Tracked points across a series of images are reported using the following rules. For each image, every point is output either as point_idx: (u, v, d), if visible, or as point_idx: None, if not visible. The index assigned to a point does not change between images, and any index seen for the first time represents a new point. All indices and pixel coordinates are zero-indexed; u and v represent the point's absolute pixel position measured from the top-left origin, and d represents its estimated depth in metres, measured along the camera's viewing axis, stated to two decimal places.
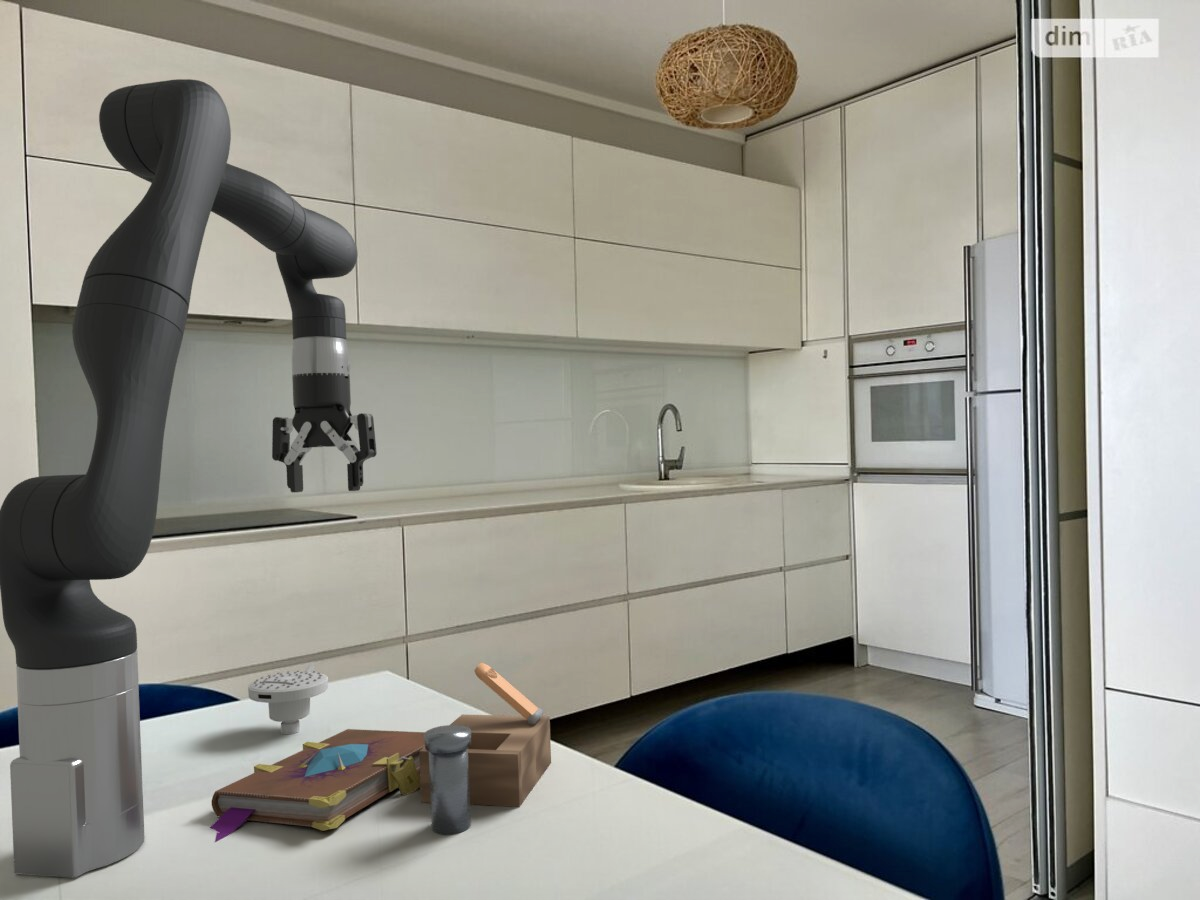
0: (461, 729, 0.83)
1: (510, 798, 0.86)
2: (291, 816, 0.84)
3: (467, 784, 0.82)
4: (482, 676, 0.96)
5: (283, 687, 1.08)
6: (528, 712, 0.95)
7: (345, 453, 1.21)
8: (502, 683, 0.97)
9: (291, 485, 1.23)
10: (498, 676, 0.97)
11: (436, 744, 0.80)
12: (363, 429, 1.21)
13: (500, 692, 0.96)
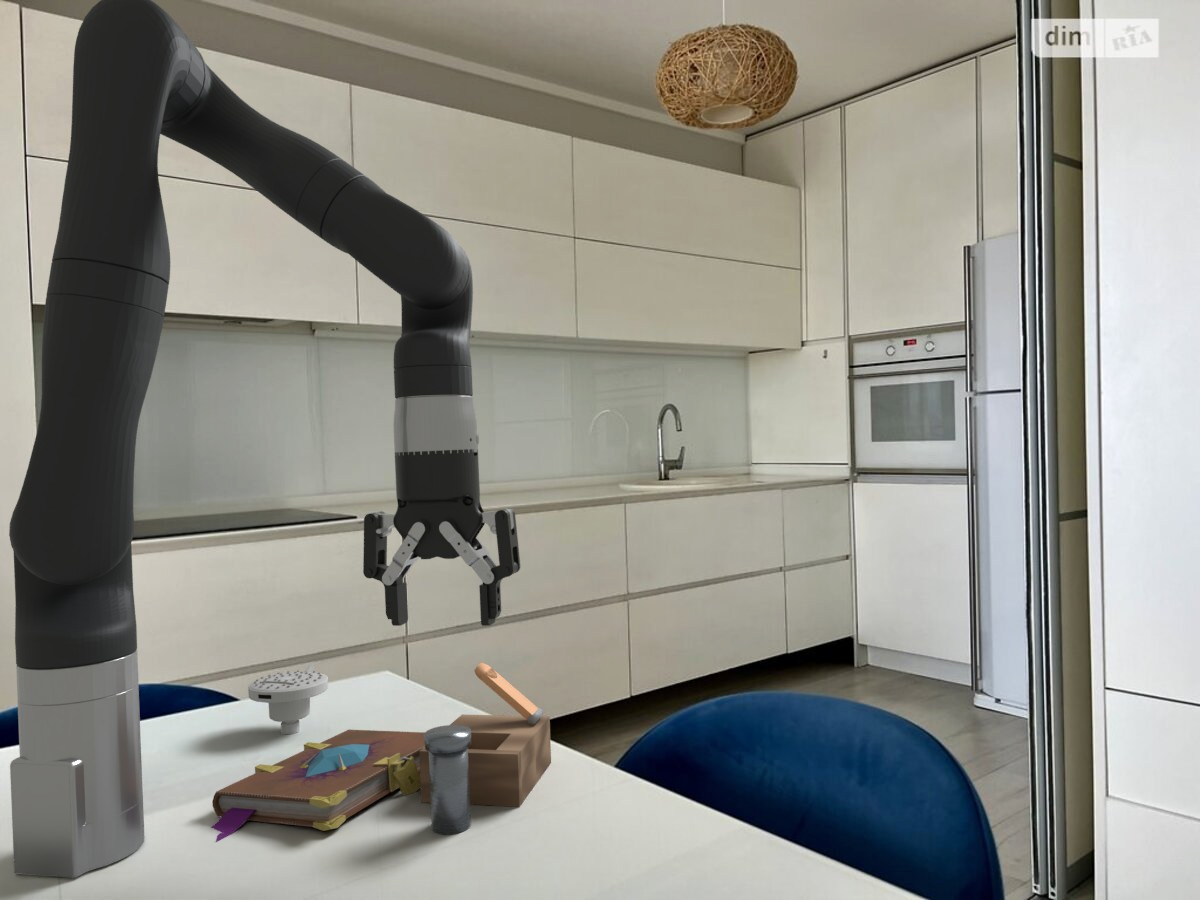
0: (461, 729, 0.83)
1: (510, 798, 0.86)
2: (292, 816, 0.84)
3: (467, 784, 0.82)
4: (482, 676, 0.96)
5: (283, 687, 1.08)
6: (528, 712, 0.95)
7: (476, 569, 0.81)
8: (502, 683, 0.97)
9: (393, 615, 0.82)
10: (498, 676, 0.97)
11: (436, 744, 0.80)
12: (504, 534, 0.80)
13: (500, 692, 0.96)
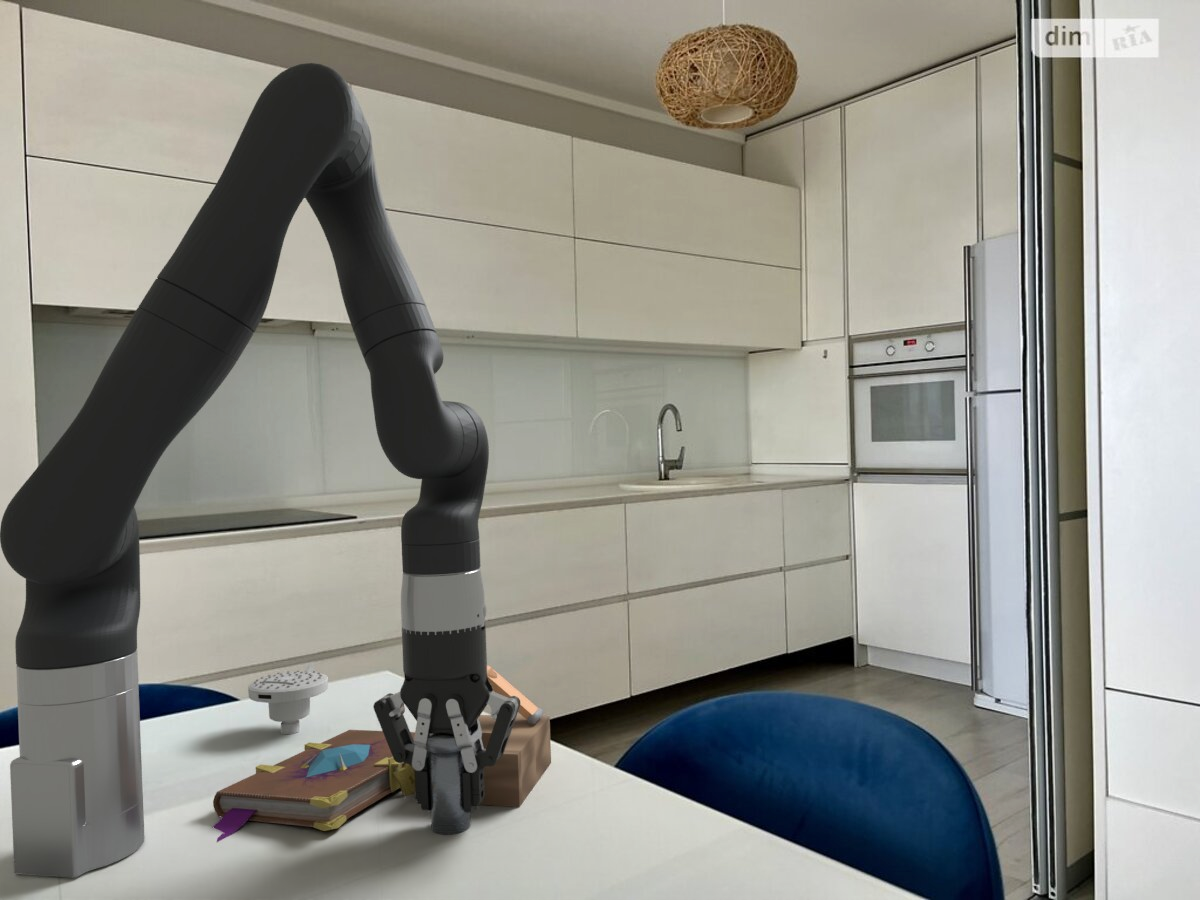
0: None
1: (510, 798, 0.86)
2: (293, 816, 0.84)
3: None
4: None
5: (283, 687, 1.08)
6: (528, 712, 0.95)
7: (463, 754, 0.81)
8: (502, 683, 0.97)
9: (422, 801, 0.81)
10: (498, 676, 0.97)
11: (436, 744, 0.80)
12: (501, 727, 0.80)
13: (500, 692, 0.96)
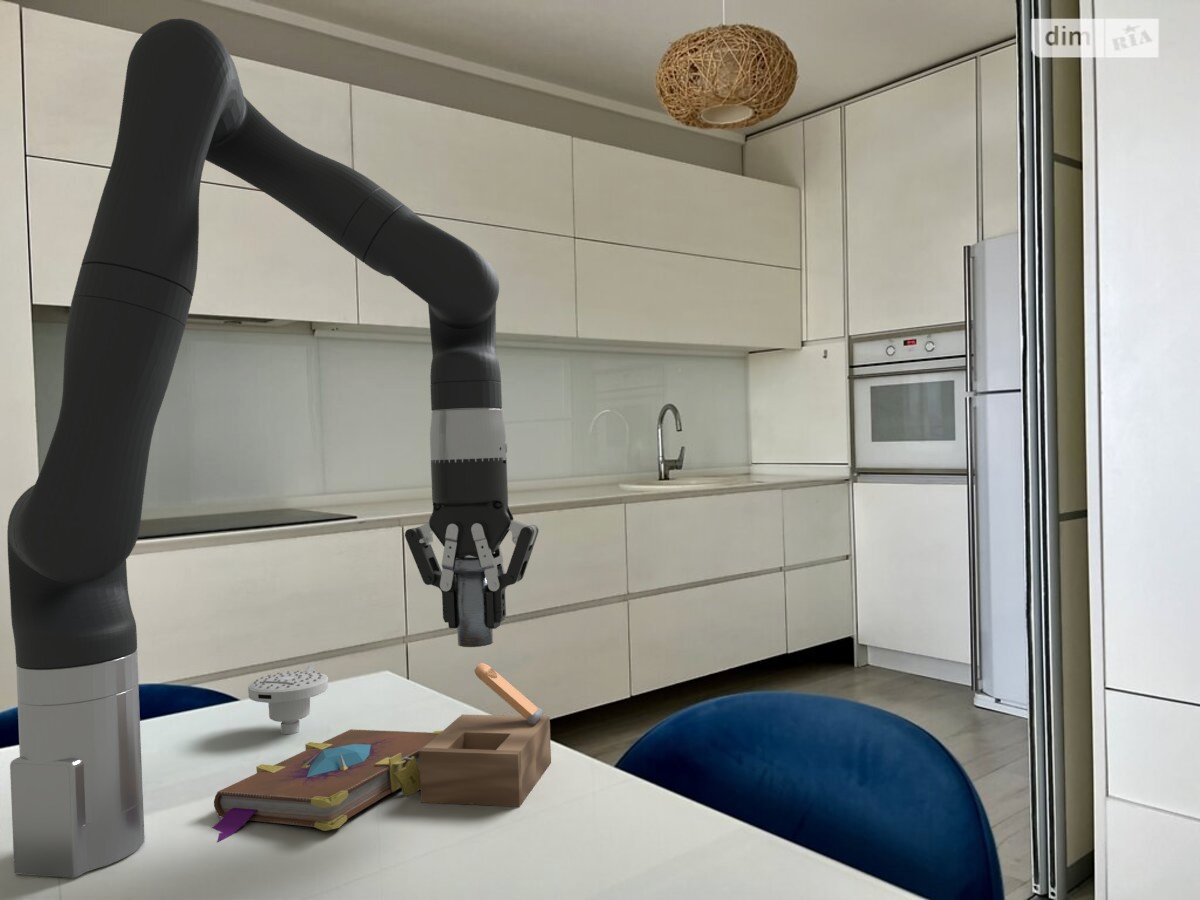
0: None
1: (510, 798, 0.86)
2: (293, 816, 0.84)
3: None
4: (482, 676, 0.96)
5: (283, 687, 1.08)
6: (528, 712, 0.95)
7: (487, 574, 0.89)
8: (502, 683, 0.97)
9: (449, 619, 0.90)
10: (498, 676, 0.97)
11: (462, 564, 0.88)
12: (522, 548, 0.88)
13: (500, 692, 0.96)
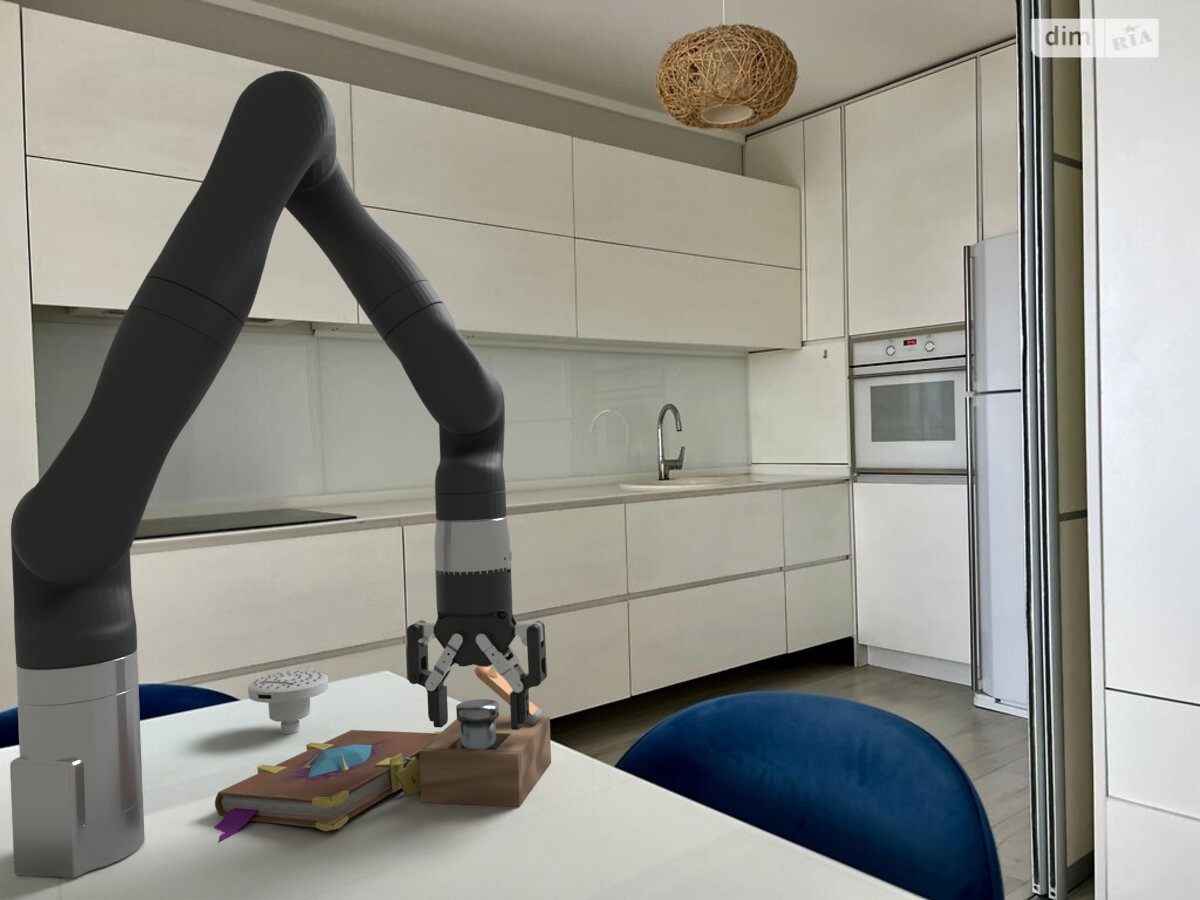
0: (489, 702, 0.91)
1: (510, 798, 0.86)
2: (294, 817, 0.83)
3: None
4: (482, 676, 0.96)
5: (283, 687, 1.08)
6: None
7: (508, 679, 0.89)
8: (502, 683, 0.97)
9: (435, 718, 0.90)
10: (498, 676, 0.97)
11: (468, 715, 0.88)
12: (534, 647, 0.88)
13: (500, 692, 0.96)
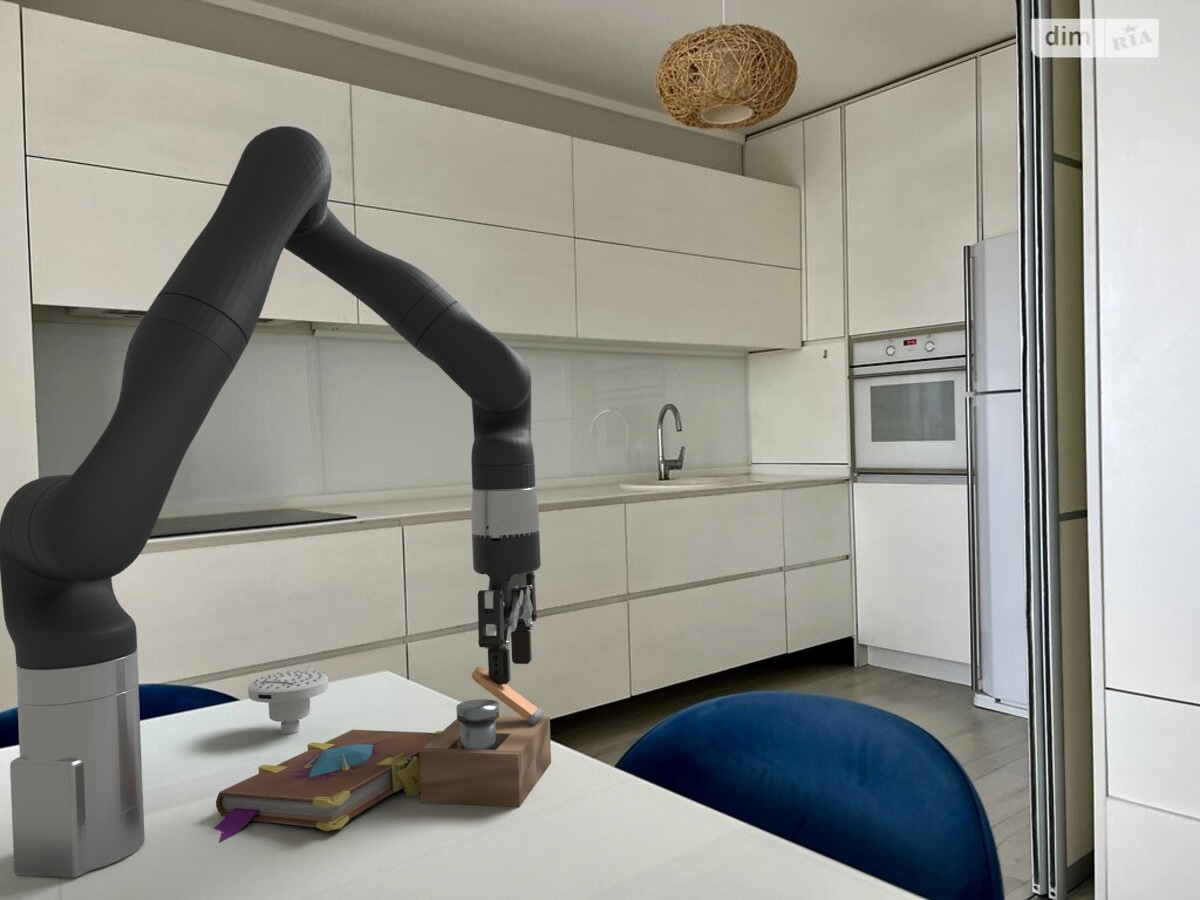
0: (489, 702, 0.91)
1: (510, 798, 0.86)
2: (295, 816, 0.83)
3: None
4: (479, 680, 0.96)
5: (283, 687, 1.08)
6: (528, 712, 0.95)
7: None
8: (500, 685, 0.97)
9: None
10: None
11: (468, 715, 0.88)
12: None
13: (498, 694, 0.96)
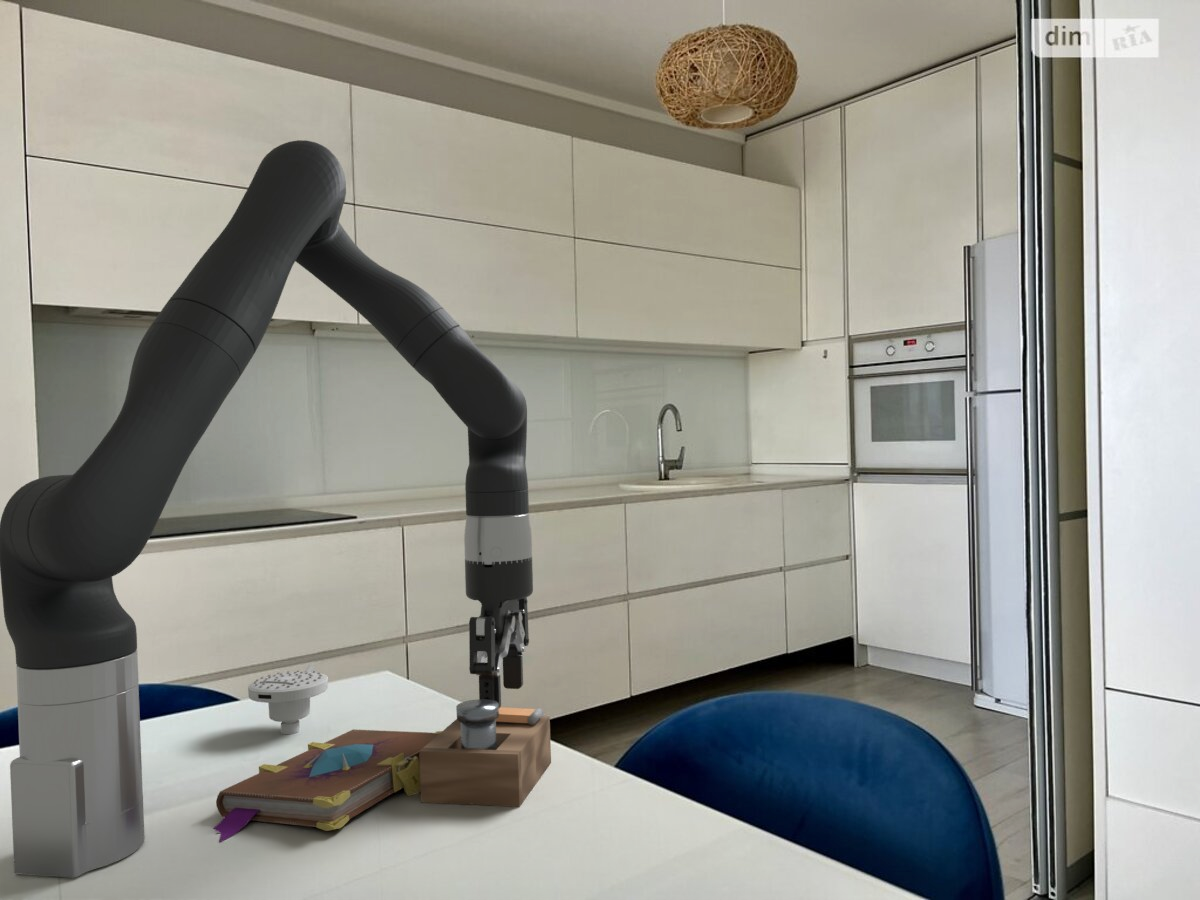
0: (489, 703, 0.91)
1: (510, 798, 0.86)
2: (295, 816, 0.83)
3: None
4: None
5: (283, 687, 1.08)
6: (525, 716, 0.95)
7: None
8: None
9: None
10: None
11: (468, 715, 0.88)
12: None
13: None
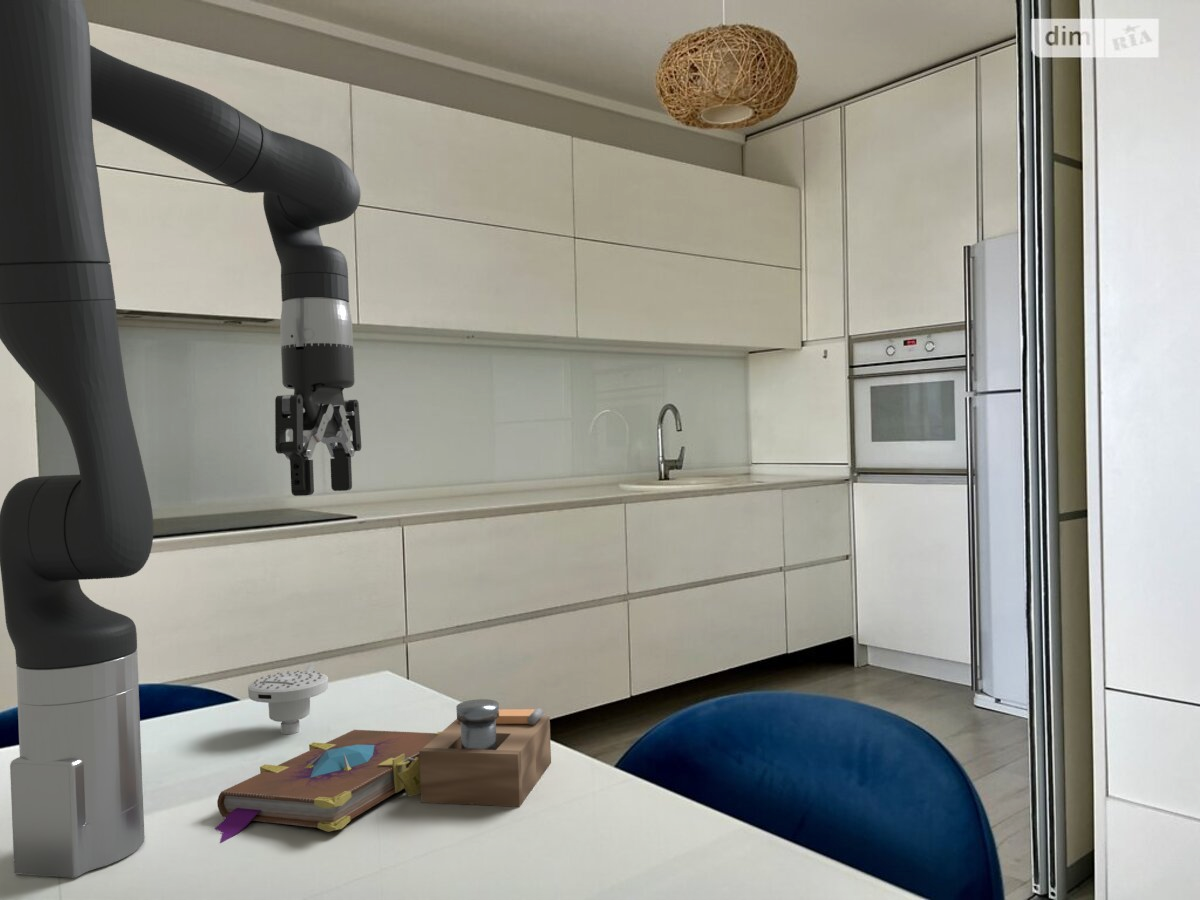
0: (489, 702, 0.91)
1: (510, 798, 0.86)
2: (296, 817, 0.83)
3: None
4: None
5: (283, 687, 1.08)
6: (525, 716, 0.95)
7: None
8: None
9: None
10: None
11: (468, 715, 0.88)
12: None
13: None
